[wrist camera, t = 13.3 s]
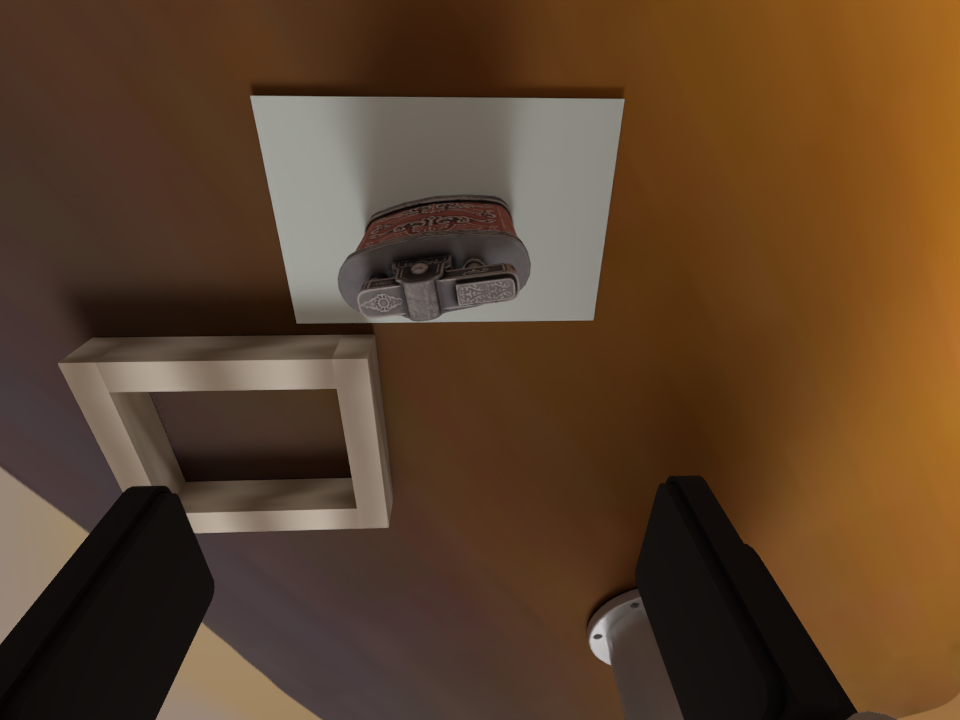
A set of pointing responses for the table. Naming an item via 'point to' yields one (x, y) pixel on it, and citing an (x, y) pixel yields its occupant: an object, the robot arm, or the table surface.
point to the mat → (441, 187)
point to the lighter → (435, 258)
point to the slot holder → (238, 366)
